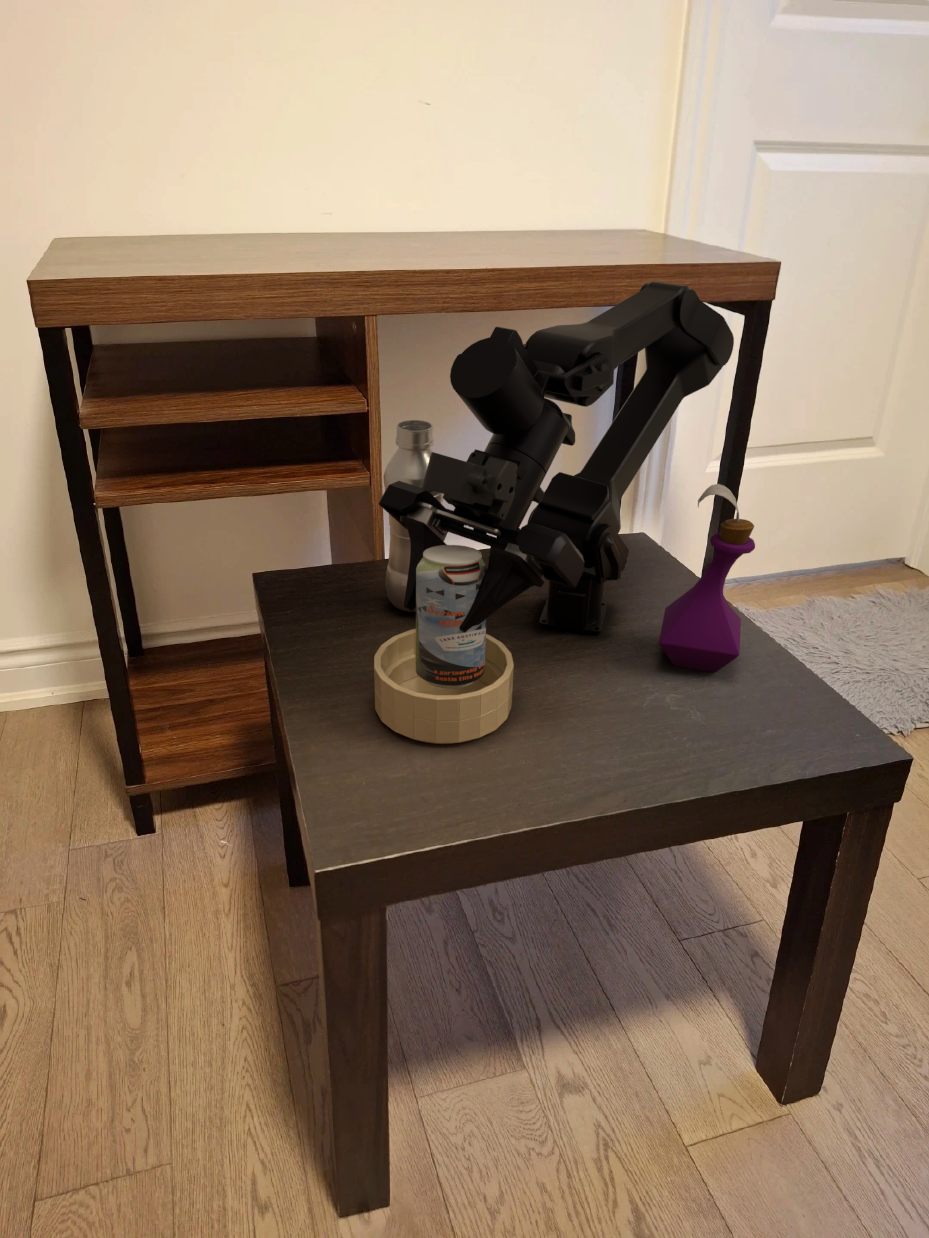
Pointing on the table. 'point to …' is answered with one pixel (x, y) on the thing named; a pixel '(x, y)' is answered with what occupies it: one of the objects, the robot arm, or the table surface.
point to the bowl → (440, 695)
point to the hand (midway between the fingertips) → (434, 620)
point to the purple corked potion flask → (709, 602)
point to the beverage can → (449, 616)
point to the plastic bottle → (411, 470)
